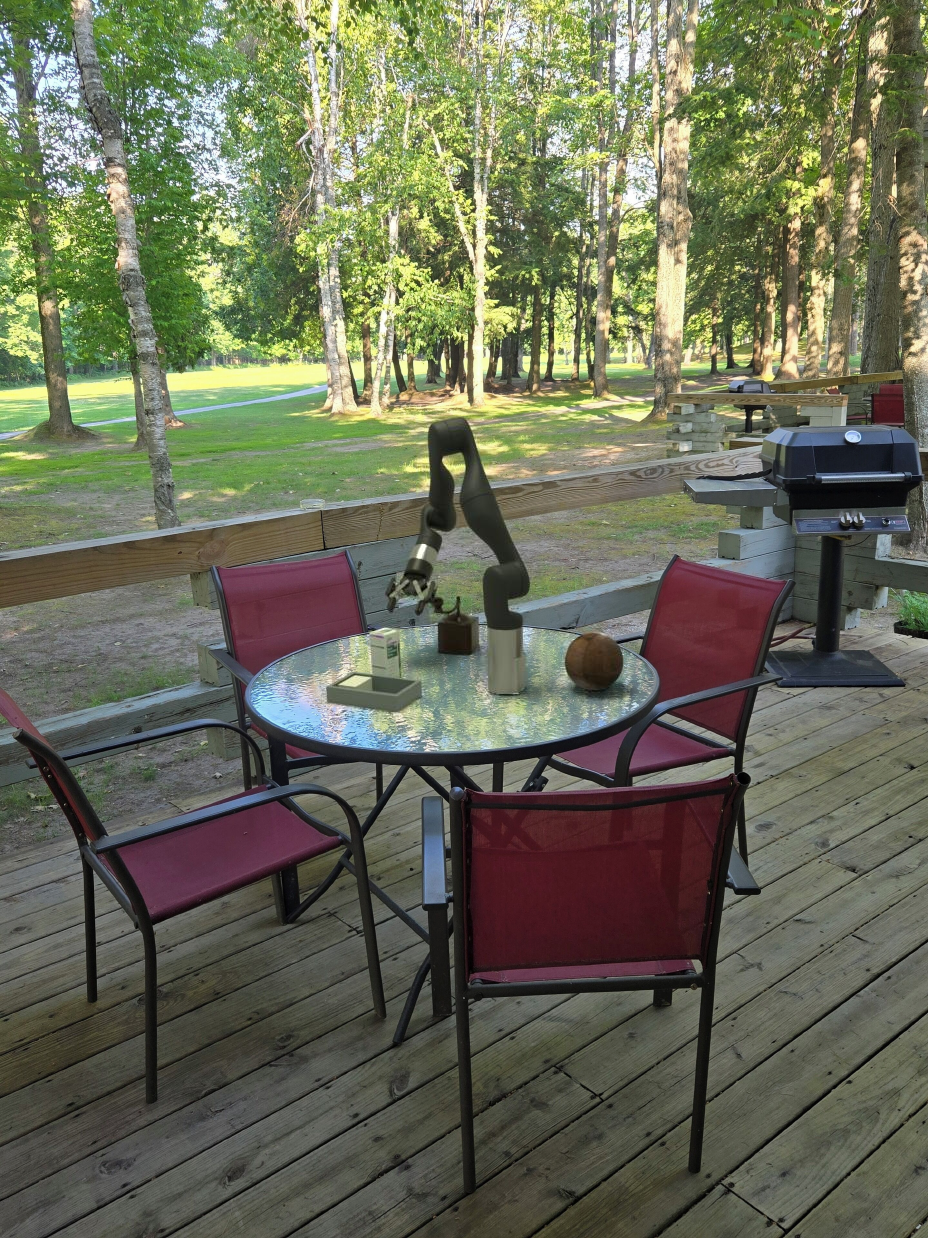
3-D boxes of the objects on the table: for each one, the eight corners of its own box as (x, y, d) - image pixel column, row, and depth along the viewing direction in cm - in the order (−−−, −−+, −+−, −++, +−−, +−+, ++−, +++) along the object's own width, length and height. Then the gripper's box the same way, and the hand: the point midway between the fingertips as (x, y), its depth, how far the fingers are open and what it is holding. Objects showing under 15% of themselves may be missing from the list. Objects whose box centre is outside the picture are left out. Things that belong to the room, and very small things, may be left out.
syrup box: (387, 687, 239) (385, 634, 235) (371, 683, 243) (369, 631, 239) (402, 681, 243) (400, 629, 240) (385, 677, 247) (383, 626, 243)
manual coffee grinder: (445, 643, 279) (444, 586, 274) (480, 645, 276) (479, 588, 271) (429, 658, 264) (428, 598, 260) (466, 660, 261) (465, 599, 257)
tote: (422, 699, 229) (421, 680, 228) (397, 716, 218) (396, 696, 217) (354, 689, 238) (353, 671, 236) (327, 705, 226) (326, 686, 225)
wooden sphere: (631, 685, 237) (633, 630, 233) (607, 702, 225) (608, 644, 221) (580, 676, 245) (581, 623, 241) (554, 692, 233) (554, 636, 229)
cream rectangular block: (372, 692, 232) (371, 677, 231) (356, 702, 225) (355, 686, 224) (355, 690, 234) (355, 675, 233) (339, 699, 227) (338, 684, 226)
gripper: (394, 555, 255) (375, 603, 248) (439, 558, 249) (421, 607, 242) (403, 570, 261) (385, 617, 254) (448, 573, 255) (431, 622, 248)
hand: (403, 612), depth 248 cm, fingers open, 8 cm apart
